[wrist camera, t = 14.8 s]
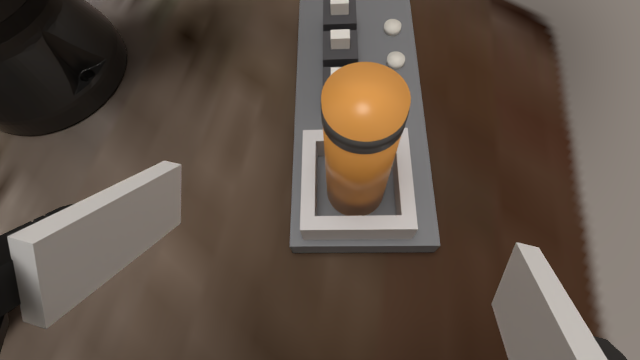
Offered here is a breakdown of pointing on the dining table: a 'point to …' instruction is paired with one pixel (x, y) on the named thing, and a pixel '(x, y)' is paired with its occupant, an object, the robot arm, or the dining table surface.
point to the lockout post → (361, 133)
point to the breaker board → (309, 158)
